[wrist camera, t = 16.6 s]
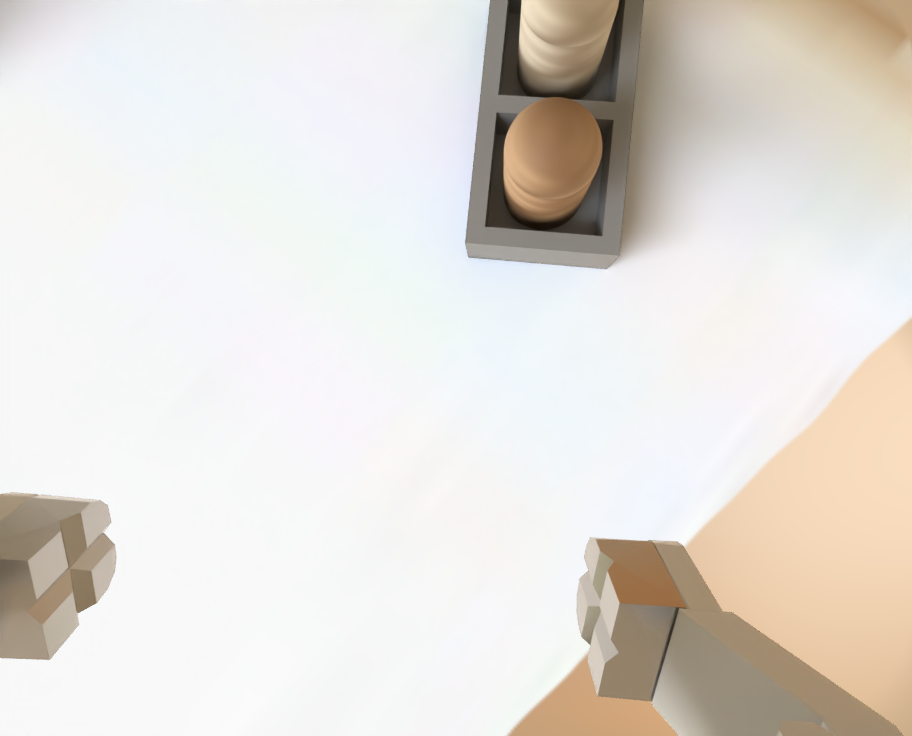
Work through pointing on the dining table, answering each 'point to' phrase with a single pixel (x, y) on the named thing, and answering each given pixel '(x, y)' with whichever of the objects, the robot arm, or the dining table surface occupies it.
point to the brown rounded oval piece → (550, 162)
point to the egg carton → (601, 211)
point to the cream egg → (562, 45)
